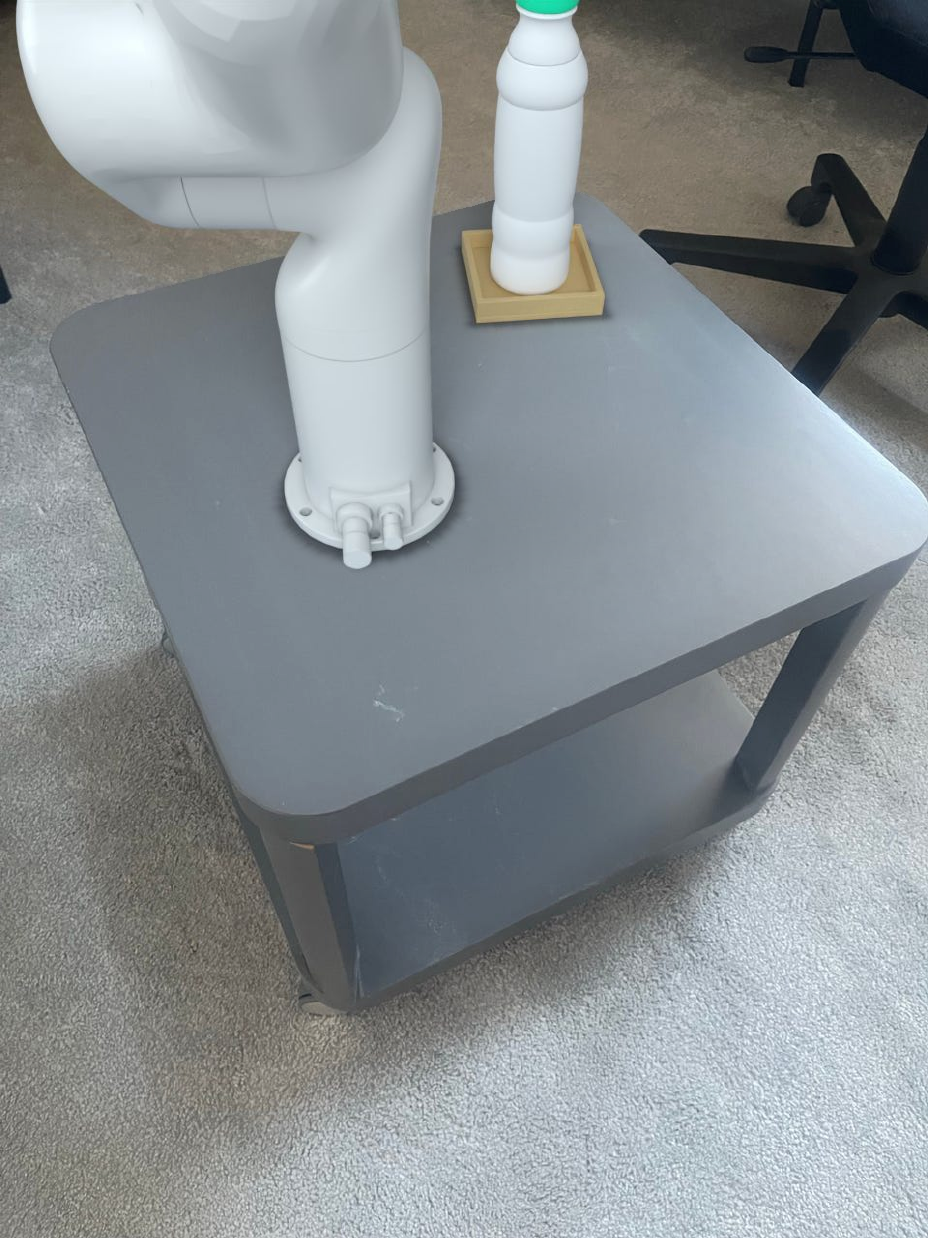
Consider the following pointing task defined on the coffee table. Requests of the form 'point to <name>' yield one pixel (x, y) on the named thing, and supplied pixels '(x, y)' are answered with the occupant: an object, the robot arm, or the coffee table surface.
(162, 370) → the coffee table surface
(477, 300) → the tray
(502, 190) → the water bottle
